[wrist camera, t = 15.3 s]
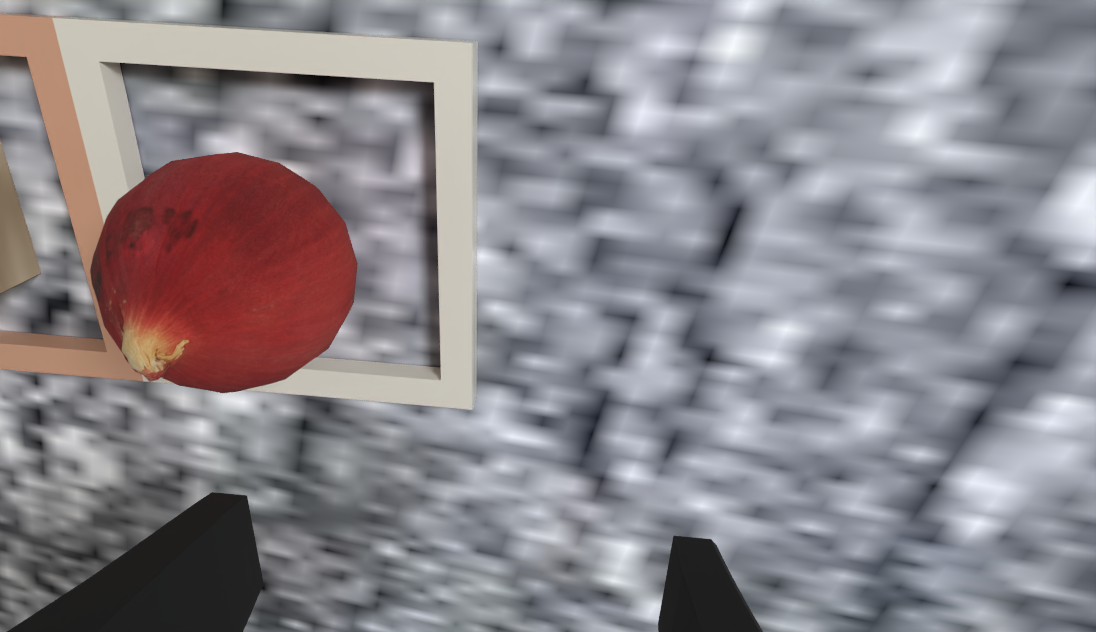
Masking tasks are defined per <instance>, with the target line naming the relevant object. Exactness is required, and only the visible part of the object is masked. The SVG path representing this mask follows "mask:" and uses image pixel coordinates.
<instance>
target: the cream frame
mask: <svg viewBox="0 0 1096 632" xmlns="http://www.w3.org/2000/svg"><path fill="white" fill-rule="evenodd" d="M52 19H53V23H54V27H55V31H56V35H57V39H58V43H59V47H60V51H61V55H62V59H63V63H64V67H65V71H66V75H67V79H68V83H69V87H70V91H71V95H72V99H73V103H74V107H75V111H76V114H77V118H78V122H79V126H80V130H81V134H82V138H83V142H84V146H85V150H86V154H87V158H88V162H89V166H90V170H91V174H92V178H93V182H94V186H95V190H96V194H97V198H98V202H99V206H100V210H101V214H102V218H103V222H104V223H105V220H106V218H107V216H108V214H109V212H110V211H111V209H112V208H113V206H114V205H115V203H116V202H117V200H118V199H120V198H121V197H122V196H123V195H125V194H126V193H127V192H129V191H130V190H131V189H132V188H134V187H135V186H136V185H138V184H139V183H140V182H141V181H143V180H144V179H145V178H144V173H143V169H142V164H141V159H140V155H139V150H138V146H137V141H136V136H135V132H134V127H133V122H132V118H131V113H130V109H129V104H128V99H127V95H126V90H125V85H124V81H123V76H122V72H121V67H120V63H133V64H149V65H165V66H181V67H197V68H213V69H229V70H245V71H261V72H276V73H292V74H308V75H324V76H340V77H356V78H372V79H388V80H404V81H420V82H434V103H435V146H436V189H437V232H438V275H439V318H440V361H441V367H429V366H417V365H405V364H393V363H381V362H369V361H357V360H345V359H333V358H321V357H316V358H314V359H313V360H312V361H310V362H309V363H307V364H306V365H305V366H303V367H302V368H300V369H299V370H298V371H296V372H295V373H293V374H292V375H291V376H289V377H288V378H286V379H285V380H282V381H278V382H275V383H272V384H268V385H264V386H259V387H255V388H250V389H246V390H250V391H262V392H274V393H285V394H297V395H308V396H320V397H331V398H343V399H355V400H366V401H378V402H389V403H401V404H413V405H424V406H436V407H447V408H459V409H471V410H472V408H473V405H474V402H475V399H476V377H477V124H478V41H467V40H450V39H433V38H416V37H399V36H383V35H366V34H349V33H332V32H315V31H299V30H282V29H265V28H248V27H231V26H214V25H198V24H181V23H164V22H147V21H130V20H113V19H97V18H80V17H65V18H52ZM142 377H143V381H146V382H149V381H148V380H147V378H146V377H145V376H144V375H142ZM151 382H158V383H169V384H175V383H172V382H170V381H168V380H166V379H163V378H159V379H158V380H155V381H151Z"/></svg>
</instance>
